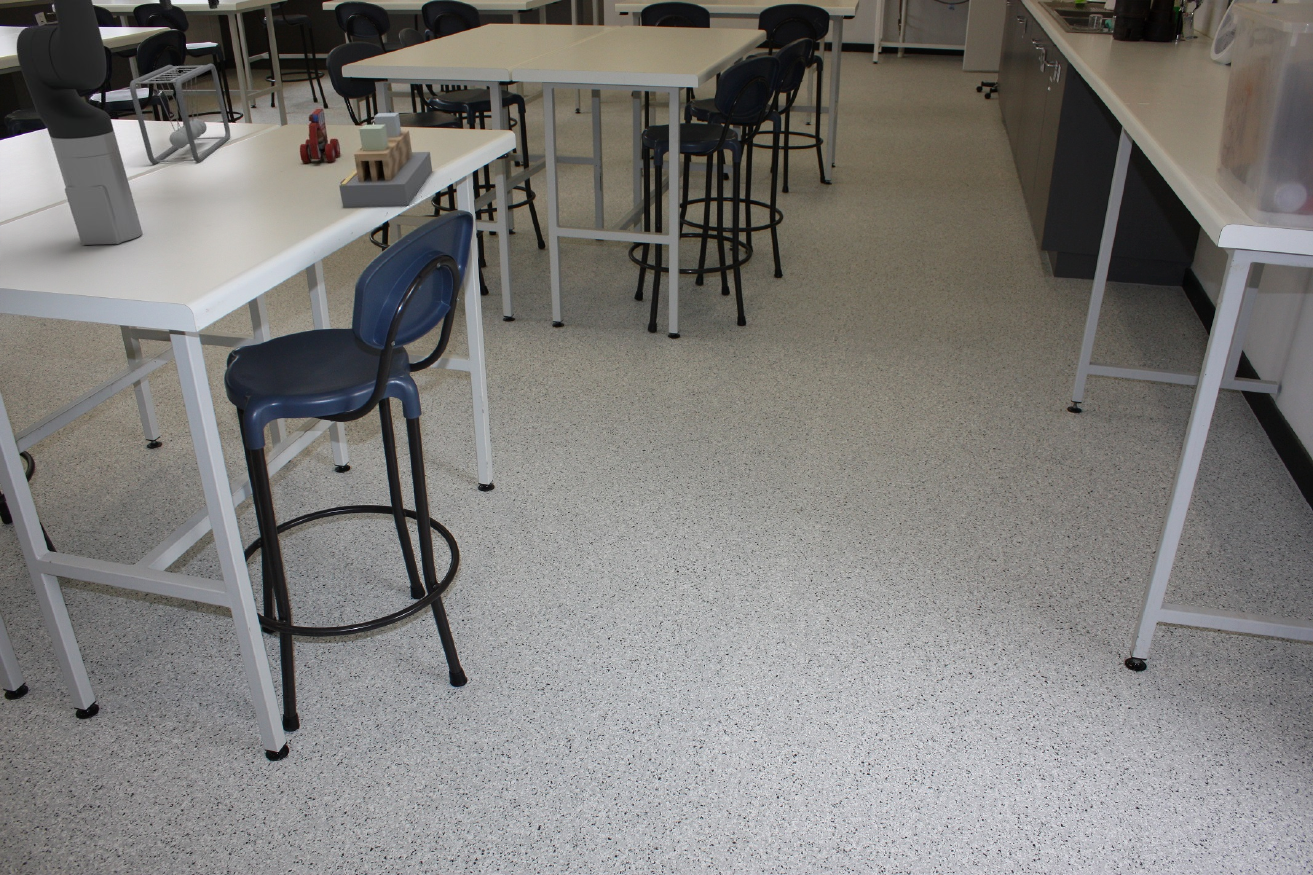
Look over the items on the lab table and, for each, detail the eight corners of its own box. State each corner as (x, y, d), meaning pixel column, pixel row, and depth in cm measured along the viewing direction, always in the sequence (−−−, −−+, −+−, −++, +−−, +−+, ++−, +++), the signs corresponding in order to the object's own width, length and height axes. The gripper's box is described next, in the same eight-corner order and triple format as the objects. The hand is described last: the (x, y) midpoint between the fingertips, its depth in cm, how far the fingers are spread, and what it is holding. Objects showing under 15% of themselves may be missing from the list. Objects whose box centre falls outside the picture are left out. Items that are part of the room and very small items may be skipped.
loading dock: (407, 205, 177) (404, 183, 175) (337, 207, 177) (333, 184, 175) (432, 171, 202) (429, 151, 199) (370, 172, 201) (367, 152, 199)
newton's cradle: (198, 164, 211) (178, 80, 202) (149, 166, 210) (126, 82, 201) (232, 138, 237) (215, 62, 228) (188, 139, 236) (169, 63, 227)
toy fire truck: (299, 167, 207) (290, 117, 202) (312, 154, 218) (303, 107, 213) (332, 165, 208) (323, 116, 203) (343, 153, 219) (335, 106, 214)
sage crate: (384, 150, 177) (380, 128, 176) (362, 151, 177) (359, 129, 175) (388, 146, 181) (385, 124, 179) (367, 146, 181) (364, 125, 179)
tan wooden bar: (390, 180, 177) (386, 153, 175) (358, 181, 177) (354, 154, 175) (412, 155, 197) (408, 130, 194) (383, 156, 197) (379, 131, 194)
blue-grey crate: (397, 137, 188) (394, 116, 187) (377, 137, 188) (374, 116, 186) (401, 133, 192) (398, 112, 190) (381, 133, 192) (378, 113, 190)
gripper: (119, -89, 168) (144, 11, 176) (200, -90, 168) (221, 10, 176) (138, -88, 174) (161, 8, 182) (216, -90, 175) (236, 7, 182)
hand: (191, 9), depth 179 cm, fingers open, 8 cm apart
